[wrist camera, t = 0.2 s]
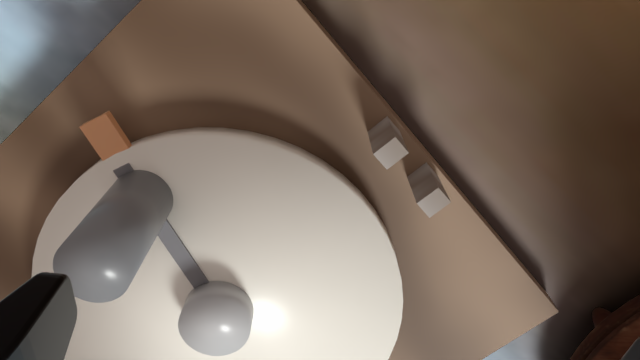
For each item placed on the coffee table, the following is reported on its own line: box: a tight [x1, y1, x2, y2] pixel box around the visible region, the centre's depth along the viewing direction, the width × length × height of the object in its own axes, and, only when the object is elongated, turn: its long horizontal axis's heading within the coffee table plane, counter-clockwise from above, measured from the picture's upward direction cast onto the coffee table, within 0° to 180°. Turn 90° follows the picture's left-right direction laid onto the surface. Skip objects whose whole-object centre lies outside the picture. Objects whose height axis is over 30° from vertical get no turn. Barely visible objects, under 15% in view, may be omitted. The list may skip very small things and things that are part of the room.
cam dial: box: [31, 111, 403, 360], centre depth 21 cm, size 18×16×6 cm
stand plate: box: [0, 0, 559, 360], centre depth 24 cm, size 22×22×4 cm
